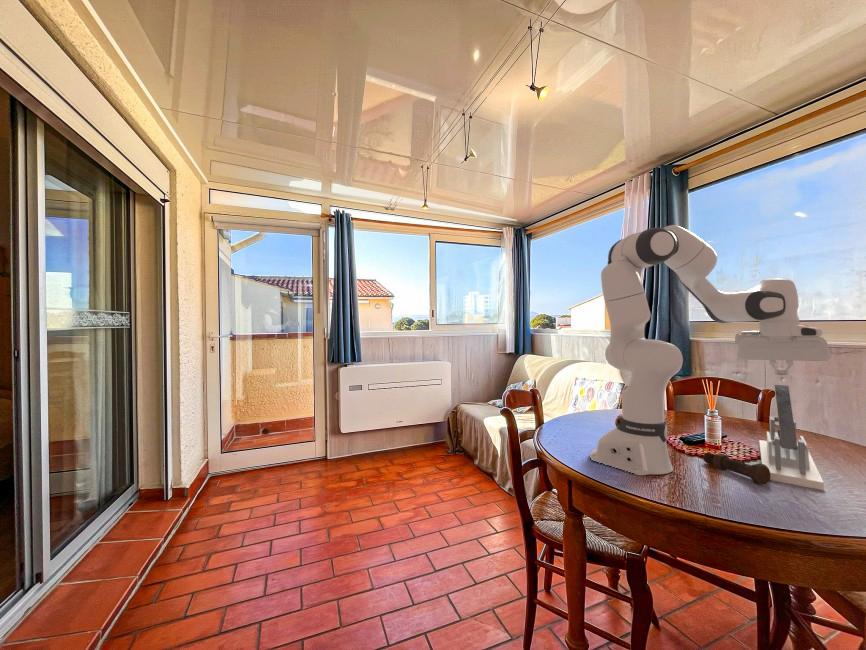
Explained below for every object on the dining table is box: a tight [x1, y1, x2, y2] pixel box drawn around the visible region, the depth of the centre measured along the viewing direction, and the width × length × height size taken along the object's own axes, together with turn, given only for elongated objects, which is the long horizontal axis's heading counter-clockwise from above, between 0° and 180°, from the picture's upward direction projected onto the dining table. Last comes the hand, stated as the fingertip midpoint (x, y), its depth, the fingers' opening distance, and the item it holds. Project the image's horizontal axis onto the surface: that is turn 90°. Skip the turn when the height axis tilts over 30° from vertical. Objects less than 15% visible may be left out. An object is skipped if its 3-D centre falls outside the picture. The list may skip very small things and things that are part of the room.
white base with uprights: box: [758, 415, 825, 491], centre depth 101 cm, size 11×32×11 cm, turn 137°
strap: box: [774, 384, 798, 450], centre depth 100 cm, size 3×24×1 cm
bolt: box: [702, 452, 771, 486], centre depth 97 cm, size 6×5×15 cm
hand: (781, 374), depth 106 cm, fingers closed
